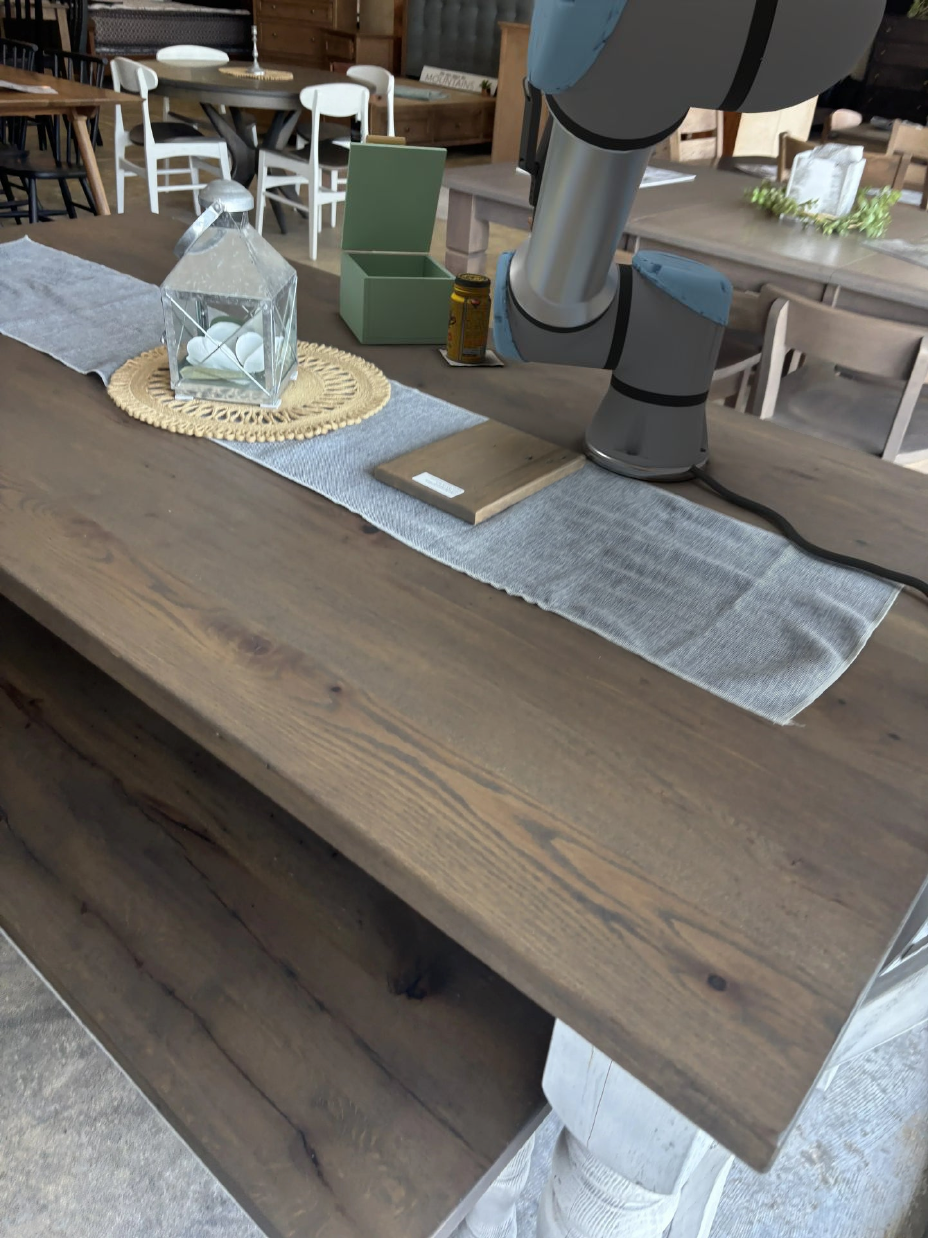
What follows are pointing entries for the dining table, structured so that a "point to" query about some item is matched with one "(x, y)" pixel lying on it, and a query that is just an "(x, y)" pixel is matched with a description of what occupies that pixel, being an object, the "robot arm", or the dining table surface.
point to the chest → (395, 298)
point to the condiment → (469, 322)
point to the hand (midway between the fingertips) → (556, 234)
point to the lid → (391, 195)
